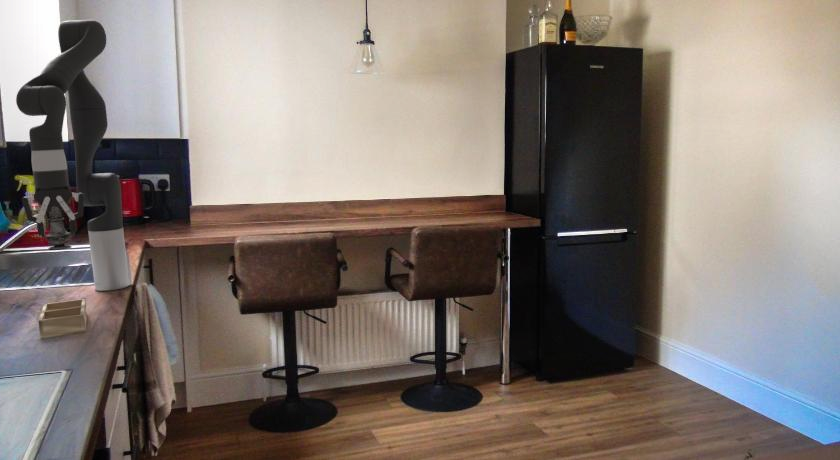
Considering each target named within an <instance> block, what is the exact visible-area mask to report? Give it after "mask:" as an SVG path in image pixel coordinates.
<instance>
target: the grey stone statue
mask: <svg viewBox="0 0 840 460" xmlns="http://www.w3.org/2000/svg"><path fill="white" fill-rule="evenodd" d="M48 216H49V218H48V220H47V221H49V227H50V228H49V232H48V233H47V234H45V239H46V241H47V242H48V243H49V244H51V246H49V248H47V250H48V251H61V250H68V249H71V248H72V245H69V244H67V243H68V242H69V241H70V239H71V231H69V232H68V231H67V229H66V228H65V225H64V220H65V217H63V209H59V208H58V207H56V206H53V207H51V208H50V210H48ZM52 245H53V246H52Z"/></svg>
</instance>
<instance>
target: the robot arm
mask: <svg viewBox="0 0 840 460" xmlns="http://www.w3.org/2000/svg"><path fill="white" fill-rule="evenodd" d="M57 34H58V36H57V37H58V43H59V44H58V45H59V49H60V53H59V54H58V55H56V56H55V57H53V58H52V59H51V60H50V61H49V62H48V63H47V64H46V65H45V66H44V68H43V69H42V71H41V72H40V73H39V74H38V75H36V76H35V77H33V78H32V79H30V80H29V81H27V82H26V83H24V84H23V85H22V86H21V87H20V88H19V89H18V91H17V93H16V96H15V97H16V99H15V101H16V102H15V103H16V105H17V109H18V110H19V112H21V113H22V114H24V115H26V116H28V117H36V116H37V117H38V116H46V117H45V120H44V122H43V123H42V124H39V125H36V126H32V127H31V128H30V129H29V132H28V133H29V134H28V135H29V141H30V151H31V157H30V158H31V160H30V161H31V168H32V176H33V183H34V194H33V195H29V196H23V197H21V202H22V205H23V209H24V212H25V215H26V219H27V221H28V222H33V223H36V228H37V234H38V236H39V237H40V236H41V238H42V239H46V237H45V235H46V231H45V229H46V228H45V223H44V221H43V220H44V217H45V215H46V212H47V211H49V210H50V208H51V207H53V206H56V207H58V208H59V209H62V210H63V211H64V213H66V215H67V216H68V218H69V221H68V222H69V228H70V229H69V230H70V231H69V232H70V233H71V234H70V236H74V235H75V233H77V230H78V228H77V219H79V218H82V217H83V216H84V207H102V206H105V212H103V213H102V214H101V215H99V216H97V217H94V218H92V219H89V220H88V221H87V232H88V233H87V234H88V241H89V247H90V248H89V249H90V256H91V266H92V275H93V283H94V290H96V291H99V292H104V291H106V292H107V291H115V290H121V289H125V288H127V287H128V288H129V286H130V285H132V284H133V283H132V274H131V264H130V254H129V252H127V250H126V243H125V242H126V241H125V234H124V233H125V232H124V223H123V222H124V221H123V220H124V218H123V217H124V216H123V205H122V204H123V203H122V186H121V181H120V178H119V177H118V175H117V174H116V173H113V172H103V173H101V172H100V173H93V160H94V156H95V153H96V151H97V150H98V147H99V146H100V143H101V142H102V140H103V138H104V136H105V135H106V132H107V129H108V115H107V114H108V113H107V107H106V102H105V100H104V99H103V96H102V95H101V93H100V92H99V91H98V90H97V88H96V87H95V86H94V85H93V83H91V81H90V79H89V78H88V76H87V75H86V73H85V71H84V69H85V68H86V67H87V66H88V65H90V64H91V63H92V62H93V61H94V60H95V59H97V57H99V56H100V55H101V54H102V53H103V51H104V50H105V48H106V46H107V34H106V30H105V28H104V27H103V24H101V23H100V22H99V21H97V20H94V19H76V20H72V19H71V20H64V21H62V22H60V23H59V26H58V30H57ZM66 93H67V94H68V105H69V116H70V123H71V131H72V138H73V143H74V144H73V145H74V153H75V154H74V155H75V182H76V183H75V185H76V192H73V191H71V189H70V181H69V173H68V163H67V158H66V153H65V150H64V142H63V127H64V120H65V113H66V109H67V108H66V107H67V99H66V95H65V94H66ZM71 198H73V199H74V201H75V202H77V212H76V213H75V212H74V211H73V210H72V208H71V206H70V205H69V204H68V203H69V202H70V201H71ZM34 200H35V201H36V202H37V203H38V204H39V205H40V209H39V212H38V214H37V216H36V215H34V212H33V210H32V206H31V205H33V203H34Z"/></svg>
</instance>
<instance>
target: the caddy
mask: <svg viewBox="0 0 840 460" xmlns="http://www.w3.org/2000/svg"><path fill="white" fill-rule="evenodd" d="M87 311H88V310H87V303H86V298H80V299H72V300H71V299H70V300H64V301H56V302H54V301H53V302H47V303H44V304H43V306H42V308H41V312H40V315H39V318H38V329H39V337H40V339H48V338H52V337H60V336H68V335H72V334H73V335H74V333H75V334H81V333H86V331H87V318H88V312H87Z"/></svg>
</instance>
